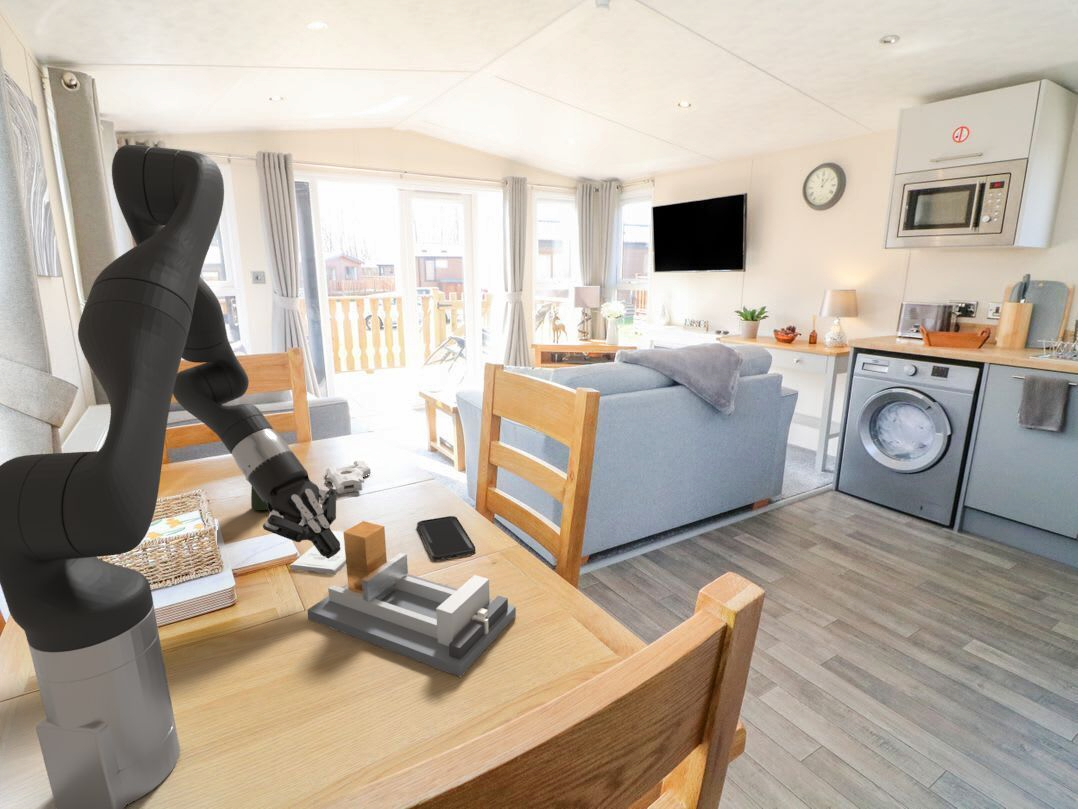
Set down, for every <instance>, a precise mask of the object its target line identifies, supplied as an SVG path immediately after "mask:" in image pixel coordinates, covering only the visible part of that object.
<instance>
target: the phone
mask: <svg viewBox="0 0 1078 809" xmlns="http://www.w3.org/2000/svg"><path fill="white" fill-rule="evenodd" d="M416 527H417V530H418V532H419V533H418V534H419V535H420V537H421V539H422V541H423V543H424V545H425V548H426V550H427V552H428V555H429V556H430V558H431V560H433V561H435V562H436V561H437V562H438V561H443V560H451V559H456V558H460V557H465V556H466V557H467V556H470V555H474V554H475V553H476V546H475V545H474V542H473V541H472V540H471V537H470V536H469V535H468V533H467V532H466V530H465V528H464V527H463V525H462V524H461V521H459V519H458V517H456V516H455V515H454V516H453V515H448V516H442V517H436V518H431V519H430V518H429V519H423V520H419V521H418V522H417V523H416Z"/></svg>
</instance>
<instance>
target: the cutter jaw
mask: <svg viewBox="0 0 1078 809" xmlns="http://www.w3.org/2000/svg"><path fill="white" fill-rule="evenodd" d="M343 532H344V544H345V555H346V565H345V566H346V576H347V583H348V584H347V583H346V584H344V585H345V586H344V585H343V586H341V587H342V588H344V589H347V590H350V591H353V592H356V593H359V594H362V595H363V600H365V601H368V602H369V601H371V600H372V599H373V598H374V599H377V600H382V599H383V598H384V597H386V596H387V595H388V594H390V593H391V592H392V591H394V590H395V589H396V587H395V582H397V581H398V580H399V579H401V578H402V577H403V576H405V575H406V574H409V568H408V554H407V553H404V552H399V554H397V555H395V556H394V557H393V558H391V559H390V560H389V561H388V559H387V547H386V546H387V544H386V543H387V542H386V535H385V534H386V529H385V526H383V525H382V524H381V525H380V524H378V523H373V522H368V521H365V520H362V521H361V522H359V523H358V524H356V525H353V526H352V527H350V528H348V529H347V530H345V531H343Z"/></svg>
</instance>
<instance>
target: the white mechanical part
mask: <svg viewBox="0 0 1078 809" xmlns="http://www.w3.org/2000/svg"><path fill="white" fill-rule="evenodd" d="M325 472H326V479H327V480H326V482H328V483H329V482H330V483H331V485H332V489H335V490H336V494H339V495H342V494H347V493H346V492H349V493H352V492H353V491H354V492H358V491H361V490H363V486H362V483H363V484H364V483H365V480H364V478H366V477H365V476H366V475H368V474H369V475H370V474H371V472H372V471H371V467H370V466H369V465H368V463H366V461H363V460H361V461H359V460H357V461H354V462H353V464H349V465H346V466H341V467H336V466H334V465H333V466H330V467H328V468H326V469H325ZM327 475H328V476H327ZM369 475H368V476H369ZM363 477H364V478H363ZM354 492H353V493H354Z"/></svg>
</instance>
